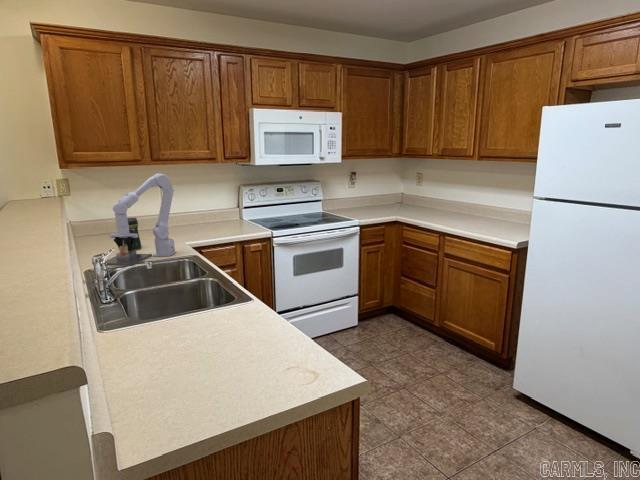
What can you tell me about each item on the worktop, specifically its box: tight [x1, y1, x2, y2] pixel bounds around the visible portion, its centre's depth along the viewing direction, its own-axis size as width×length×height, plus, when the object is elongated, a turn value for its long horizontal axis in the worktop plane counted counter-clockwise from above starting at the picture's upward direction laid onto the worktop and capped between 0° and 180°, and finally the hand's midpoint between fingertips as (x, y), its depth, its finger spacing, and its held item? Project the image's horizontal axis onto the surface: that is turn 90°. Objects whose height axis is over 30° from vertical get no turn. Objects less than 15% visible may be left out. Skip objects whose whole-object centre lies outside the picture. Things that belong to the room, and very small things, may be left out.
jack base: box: [105, 250, 153, 266], centre depth 215 cm, size 18×18×4 cm
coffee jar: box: [123, 217, 143, 251], centre depth 238 cm, size 10×8×19 cm
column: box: [118, 245, 133, 254], centre depth 215 cm, size 4×4×6 cm
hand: (126, 251), depth 215 cm, fingers closed on column, 4 cm apart
